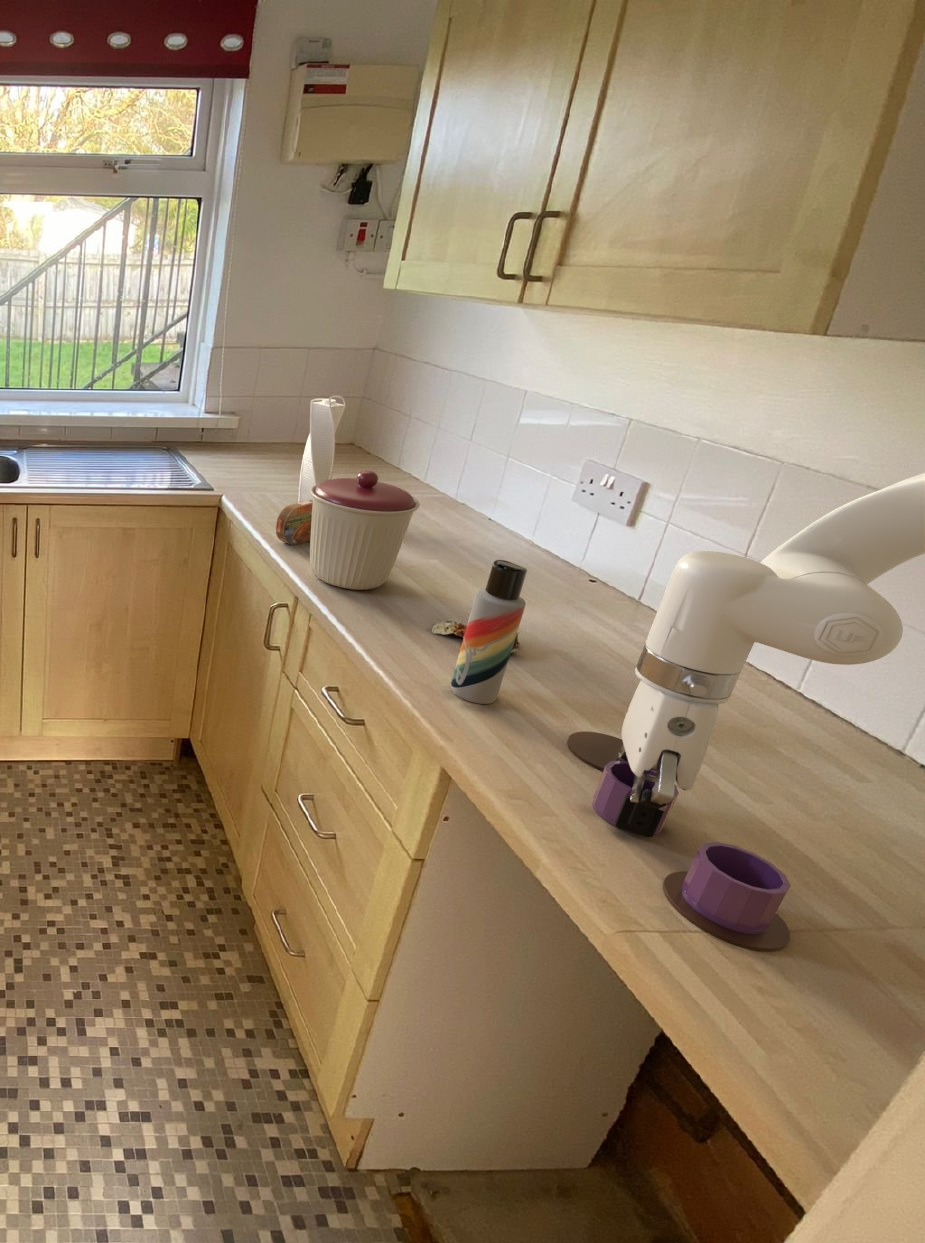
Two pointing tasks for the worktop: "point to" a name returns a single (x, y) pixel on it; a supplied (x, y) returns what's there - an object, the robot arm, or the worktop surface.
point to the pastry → (460, 631)
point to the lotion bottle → (490, 634)
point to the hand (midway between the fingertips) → (628, 810)
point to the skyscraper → (320, 445)
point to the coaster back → (595, 748)
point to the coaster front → (766, 941)
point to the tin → (295, 523)
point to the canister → (358, 530)
